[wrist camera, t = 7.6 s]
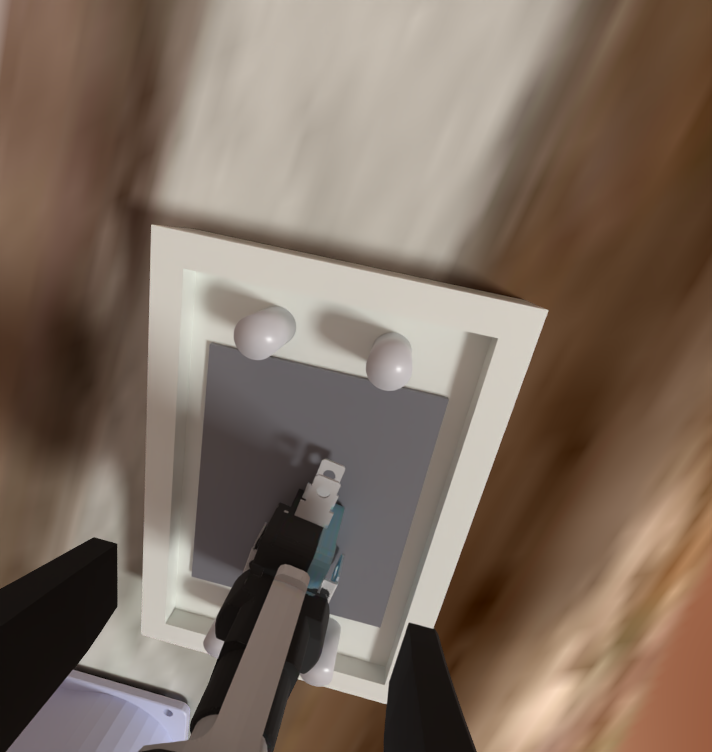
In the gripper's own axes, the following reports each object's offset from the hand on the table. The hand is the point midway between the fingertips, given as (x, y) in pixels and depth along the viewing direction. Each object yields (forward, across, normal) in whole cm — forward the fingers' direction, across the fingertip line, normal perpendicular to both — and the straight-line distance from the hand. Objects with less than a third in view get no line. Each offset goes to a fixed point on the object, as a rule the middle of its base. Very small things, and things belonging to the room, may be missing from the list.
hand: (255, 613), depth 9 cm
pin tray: (+6, 0, 0) cm, 6 cm away
